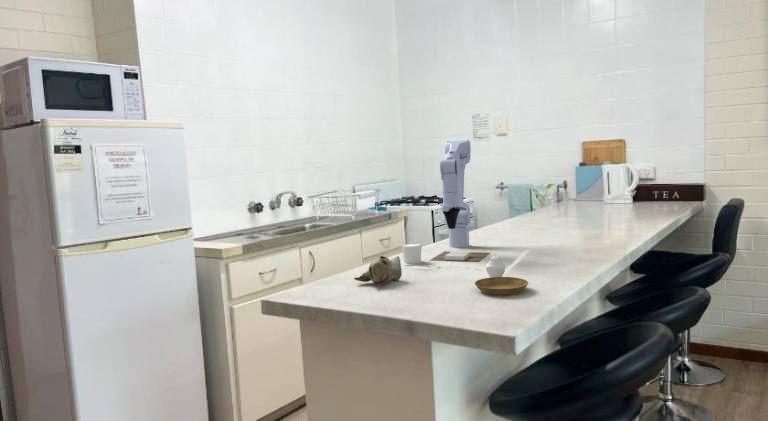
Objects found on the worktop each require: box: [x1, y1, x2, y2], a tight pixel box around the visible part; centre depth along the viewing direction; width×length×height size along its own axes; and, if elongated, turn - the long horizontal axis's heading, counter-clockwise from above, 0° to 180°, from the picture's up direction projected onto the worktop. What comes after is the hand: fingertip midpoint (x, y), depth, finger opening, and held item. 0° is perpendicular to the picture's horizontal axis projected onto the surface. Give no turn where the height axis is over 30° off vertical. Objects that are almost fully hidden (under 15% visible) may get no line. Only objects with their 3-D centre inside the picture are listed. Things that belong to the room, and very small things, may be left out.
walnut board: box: [428, 250, 491, 263], centre depth 215 cm, size 18×18×1 cm
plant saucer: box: [474, 276, 529, 297], centre depth 167 cm, size 15×15×3 cm
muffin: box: [484, 255, 507, 278], centre depth 182 cm, size 6×6×7 cm
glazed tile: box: [445, 250, 472, 262], centre depth 211 cm, size 2×7×9 cm
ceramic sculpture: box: [353, 255, 403, 286], centre depth 183 cm, size 11×9×15 cm
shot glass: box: [401, 243, 423, 267], centre depth 209 cm, size 7×7×7 cm
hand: (451, 228), depth 221 cm, fingers closed
